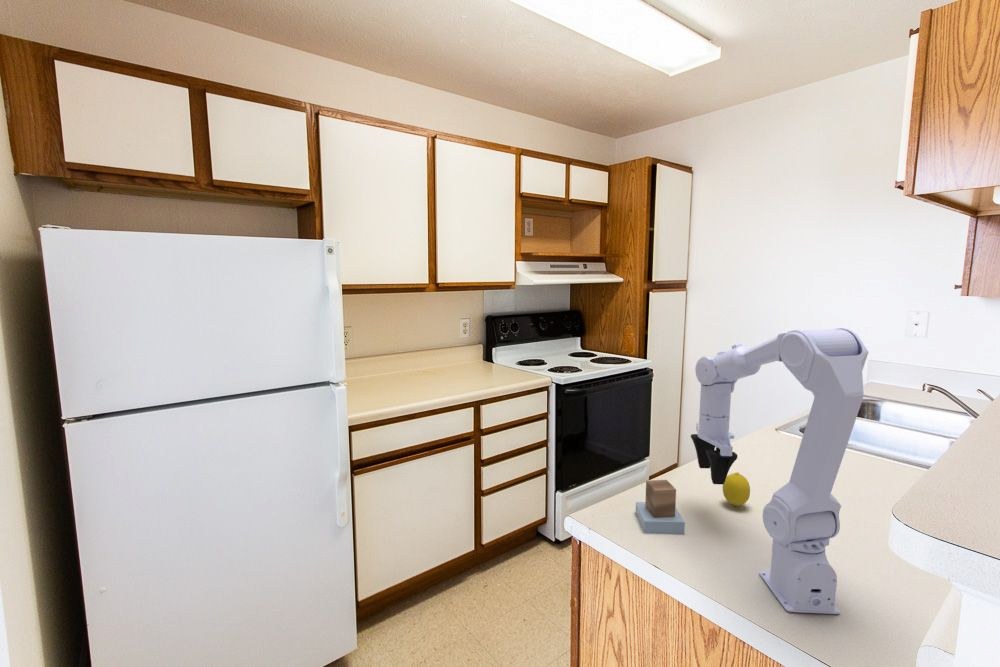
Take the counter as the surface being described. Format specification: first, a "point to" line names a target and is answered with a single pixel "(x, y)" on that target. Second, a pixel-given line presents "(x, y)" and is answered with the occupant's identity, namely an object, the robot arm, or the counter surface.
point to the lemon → (736, 489)
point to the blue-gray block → (659, 521)
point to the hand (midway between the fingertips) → (711, 475)
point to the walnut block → (660, 498)
